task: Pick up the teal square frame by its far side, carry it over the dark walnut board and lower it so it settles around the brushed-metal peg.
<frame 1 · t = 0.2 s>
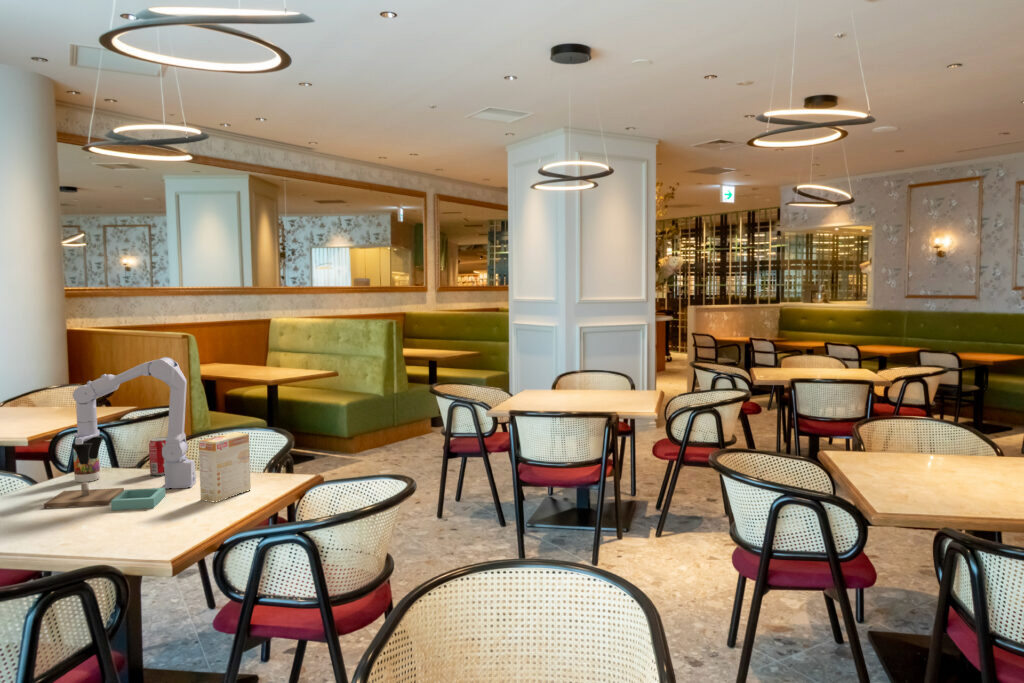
hand: (89, 461, 233), 10 cm above the table, tool pointing down, fingers open, 7 cm apart
milk bottle: (87, 480, 247), on the table
teal square frame: (139, 503, 220), on the table
soda can: (161, 474, 256), on the table
board: (85, 500, 224), on the table
coffeecake box: (226, 496, 229), on the table
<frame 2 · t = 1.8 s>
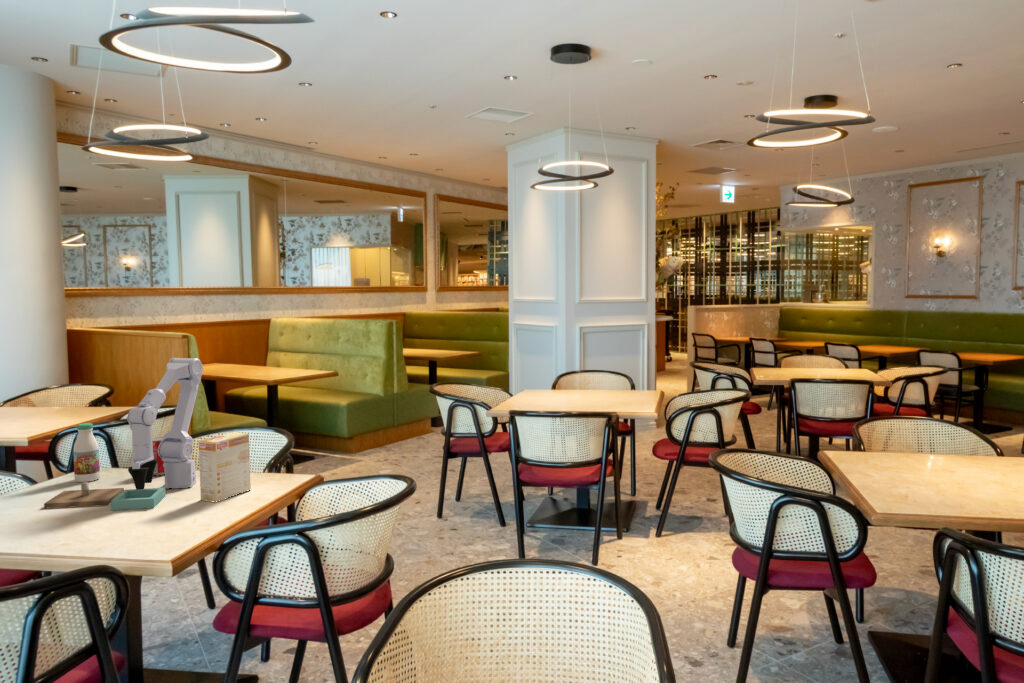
hand: (144, 485, 225), 4 cm above the table, tool pointing down, fingers open, 7 cm apart
nothing on the table moved.
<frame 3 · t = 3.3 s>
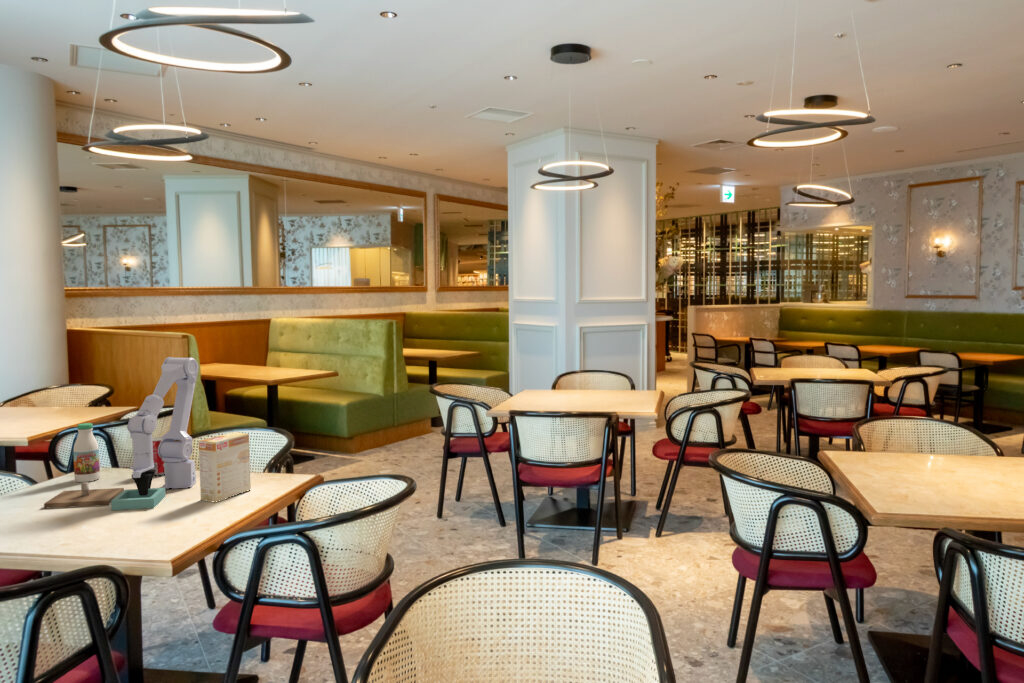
hand: (144, 494, 225), 1 cm above the table, tool pointing down, fingers closed on teal square frame
teal square frame: (139, 503, 220), on the table, touching gripper
everything else where it was.
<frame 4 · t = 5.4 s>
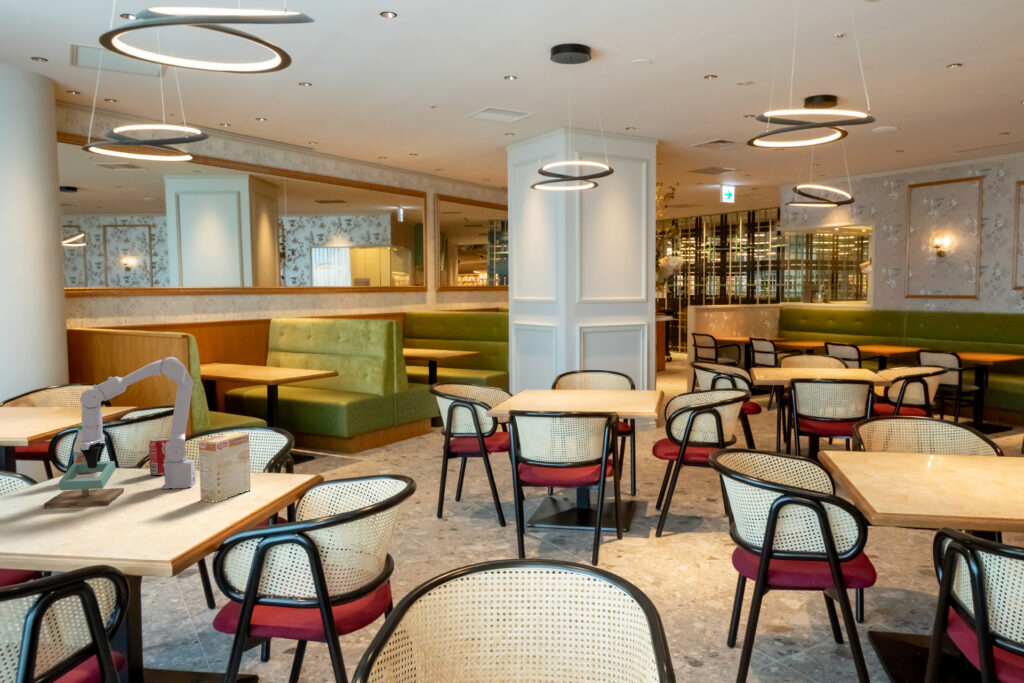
hand: (94, 467, 228), 9 cm above the table, tool pointing down, fingers closed on teal square frame
teal square frame: (88, 479, 224), point 7 cm above the table, tilted 16°, touching gripper
everything else where it was.
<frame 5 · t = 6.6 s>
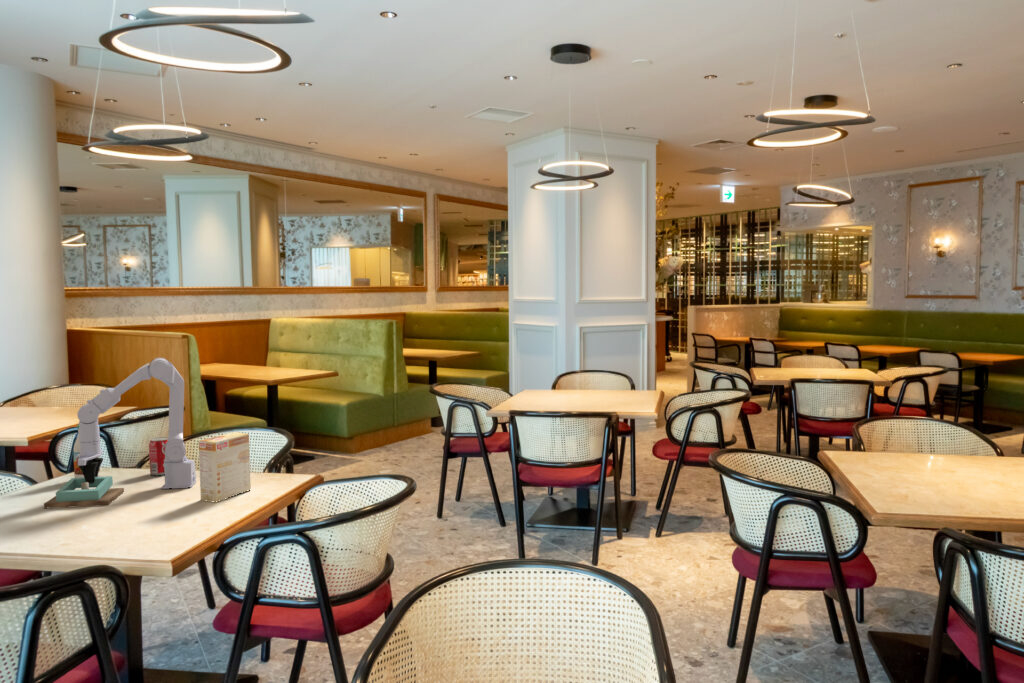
hand: (91, 482, 229), 4 cm above the table, tool pointing down, fingers closed on teal square frame
teal square frame: (85, 493, 224), point 2 cm above the table, tilted 7°, touching board, gripper
everything else where it was.
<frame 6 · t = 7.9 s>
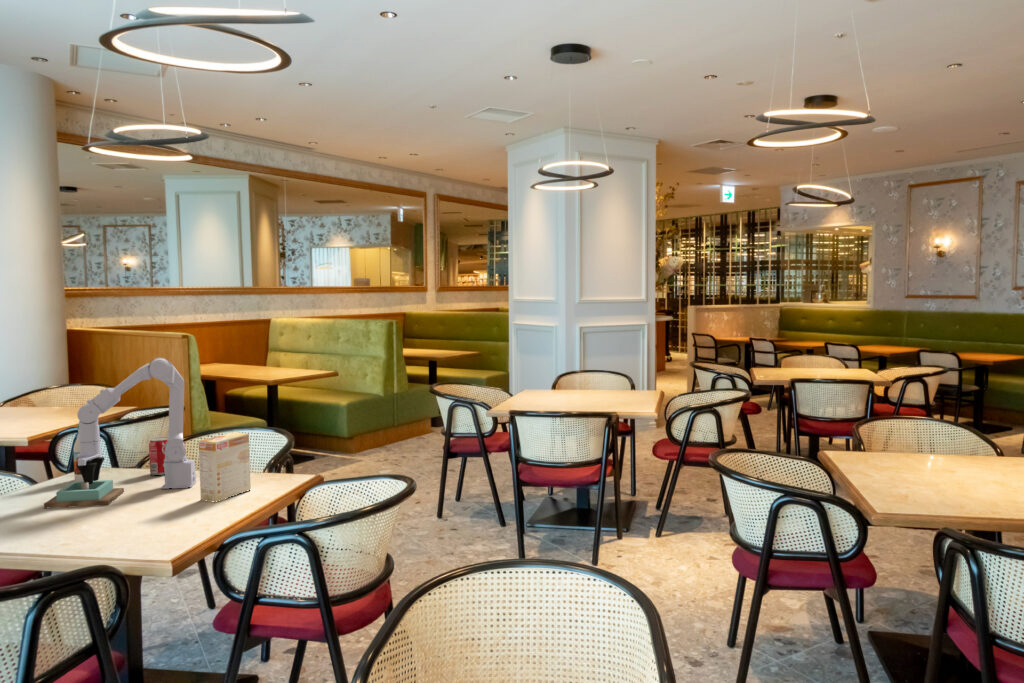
hand: (91, 482, 229), 4 cm above the table, tool pointing down, fingers open, 4 cm apart
teal square frame: (85, 495, 224), point 1 cm above the table, touching board
everything else where it was.
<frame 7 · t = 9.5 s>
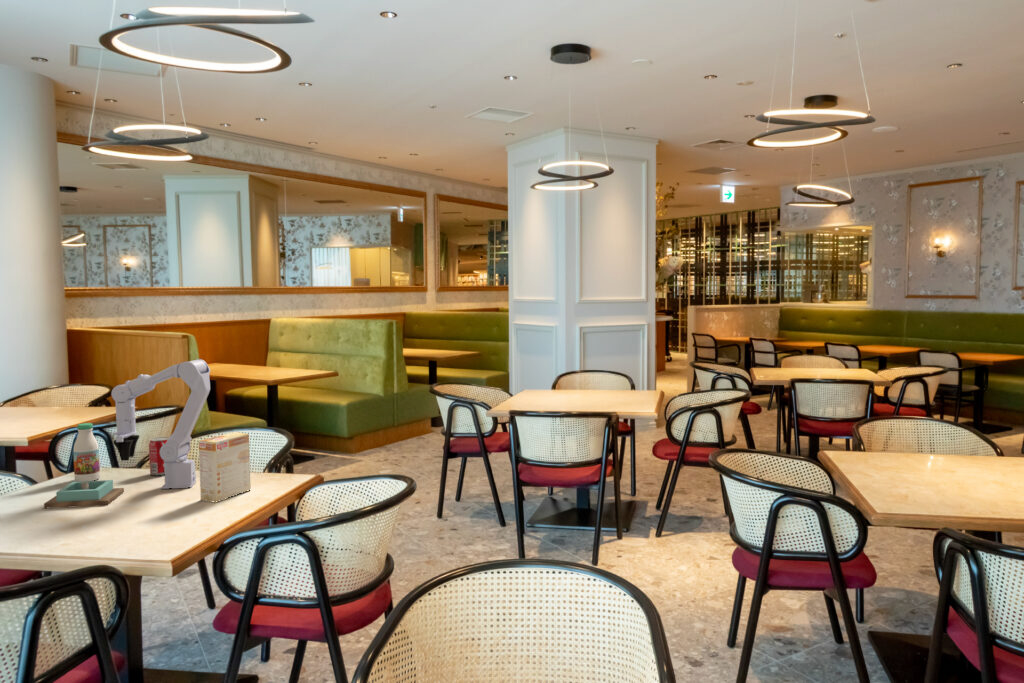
hand: (127, 458, 240), 9 cm above the table, tool pointing down, fingers open, 4 cm apart
nothing on the table moved.
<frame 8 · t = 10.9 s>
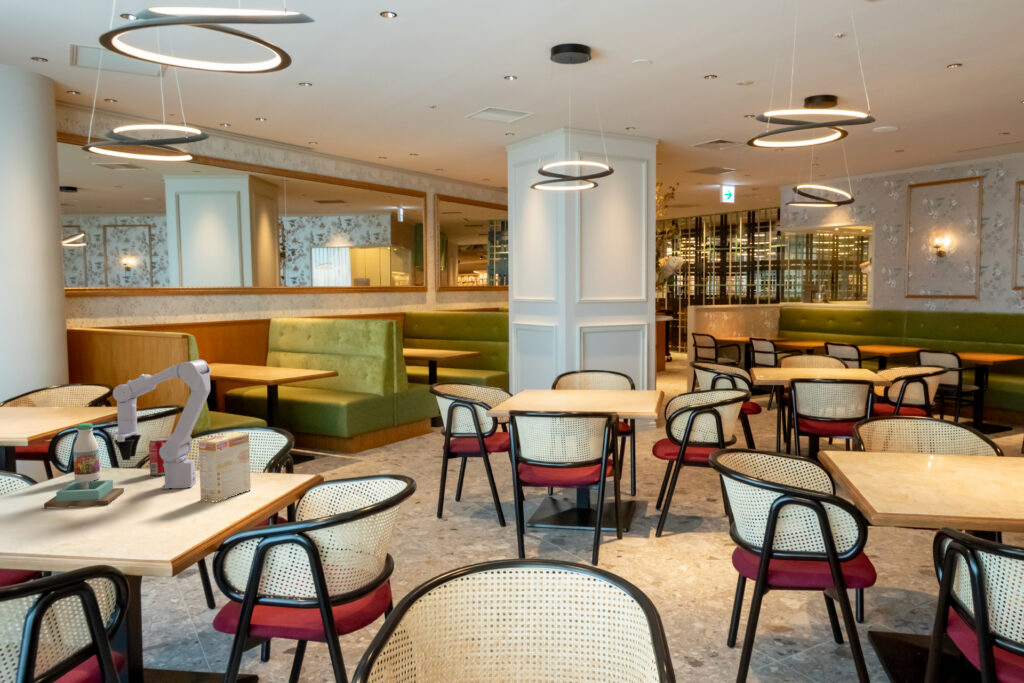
hand: (128, 458, 240), 9 cm above the table, tool pointing down, fingers open, 4 cm apart
nothing on the table moved.
at the end: teal square frame 0.3 cm off-centre on the board, point 1.5 cm above the board's base; teal square frame tilted 0°; the gripper is holding nothing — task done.
